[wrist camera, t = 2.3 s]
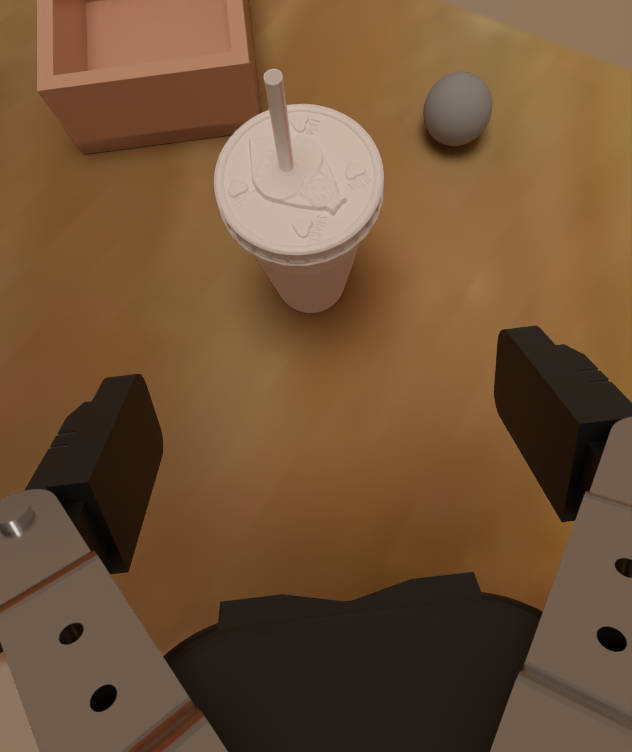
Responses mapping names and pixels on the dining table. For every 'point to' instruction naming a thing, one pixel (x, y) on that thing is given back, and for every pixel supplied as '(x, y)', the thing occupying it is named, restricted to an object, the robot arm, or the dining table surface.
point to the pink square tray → (146, 70)
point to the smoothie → (300, 195)
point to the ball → (457, 109)
